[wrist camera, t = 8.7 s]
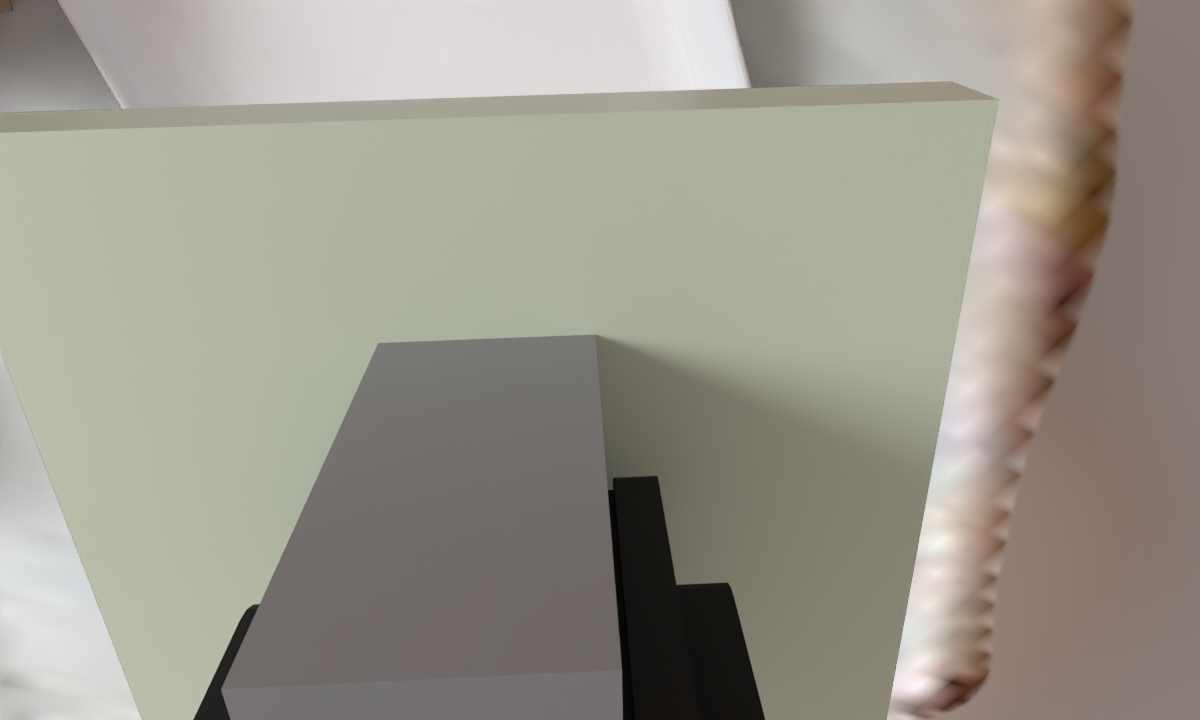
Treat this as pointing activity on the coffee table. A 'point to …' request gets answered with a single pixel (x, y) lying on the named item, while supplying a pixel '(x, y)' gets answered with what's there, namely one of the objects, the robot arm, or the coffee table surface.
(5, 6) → the crate
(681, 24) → the salad plate
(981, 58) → the coffee table surface
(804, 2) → the coffee table surface
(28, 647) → the coffee table surface
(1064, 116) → the coffee table surface
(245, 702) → the lid
